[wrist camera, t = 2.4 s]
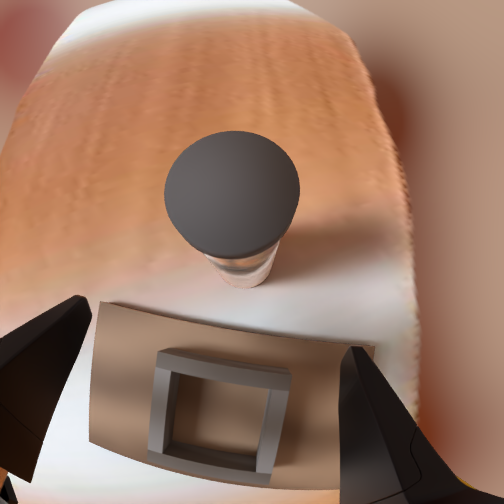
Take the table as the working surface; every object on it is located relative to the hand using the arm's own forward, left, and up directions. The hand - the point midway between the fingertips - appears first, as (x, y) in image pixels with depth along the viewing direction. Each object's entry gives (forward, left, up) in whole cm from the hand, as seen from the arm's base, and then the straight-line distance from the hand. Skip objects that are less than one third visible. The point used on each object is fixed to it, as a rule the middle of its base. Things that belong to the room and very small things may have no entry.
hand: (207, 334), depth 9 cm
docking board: (-5, +3, -11) cm, 13 cm away
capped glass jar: (+4, -2, -11) cm, 12 cm away
